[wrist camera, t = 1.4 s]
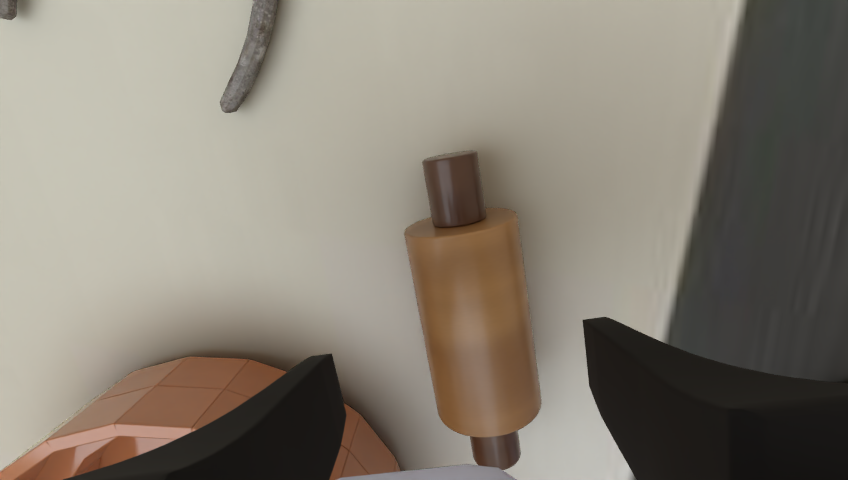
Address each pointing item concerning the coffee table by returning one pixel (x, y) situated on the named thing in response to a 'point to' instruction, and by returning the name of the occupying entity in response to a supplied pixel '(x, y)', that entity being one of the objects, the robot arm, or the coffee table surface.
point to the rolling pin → (474, 311)
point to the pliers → (4, 5)
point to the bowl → (174, 420)
